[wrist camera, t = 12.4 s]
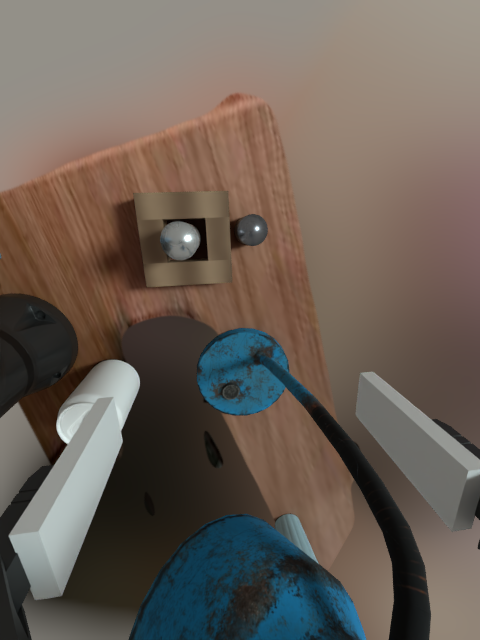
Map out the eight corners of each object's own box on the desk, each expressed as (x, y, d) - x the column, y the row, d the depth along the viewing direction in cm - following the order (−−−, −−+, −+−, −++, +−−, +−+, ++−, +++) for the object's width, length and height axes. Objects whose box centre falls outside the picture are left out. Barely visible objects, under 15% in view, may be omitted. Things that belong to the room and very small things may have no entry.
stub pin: (234, 244, 42) (238, 246, 37) (233, 216, 41) (237, 214, 36) (260, 243, 42) (267, 245, 38) (260, 215, 41) (267, 213, 37)
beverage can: (80, 385, 46) (39, 435, 34) (107, 348, 44) (73, 388, 33) (123, 408, 48) (98, 463, 37) (150, 374, 47) (132, 420, 35)
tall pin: (175, 252, 41) (162, 261, 30) (172, 224, 40) (157, 222, 29) (202, 251, 42) (199, 259, 30) (199, 223, 40) (196, 220, 29)
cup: (271, 538, 62) (283, 596, 52) (268, 514, 60) (280, 569, 50) (303, 531, 63) (322, 587, 53) (302, 506, 60) (321, 560, 50)
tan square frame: (151, 282, 42) (146, 287, 38) (140, 197, 39) (133, 193, 35) (229, 278, 43) (232, 282, 40) (225, 194, 40) (228, 190, 36)
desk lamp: (159, 397, 48) (-192, 1652, 6) (243, 305, 45) (920, 1584, 2) (227, 442, 53) (322, 1317, 10) (308, 361, 50) (938, 1142, 7)
